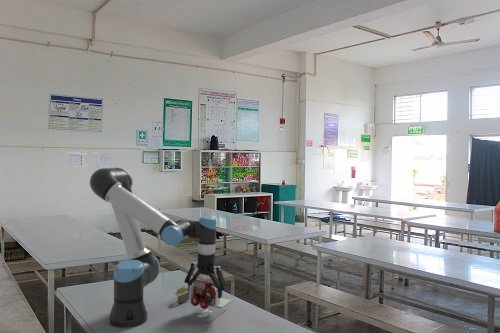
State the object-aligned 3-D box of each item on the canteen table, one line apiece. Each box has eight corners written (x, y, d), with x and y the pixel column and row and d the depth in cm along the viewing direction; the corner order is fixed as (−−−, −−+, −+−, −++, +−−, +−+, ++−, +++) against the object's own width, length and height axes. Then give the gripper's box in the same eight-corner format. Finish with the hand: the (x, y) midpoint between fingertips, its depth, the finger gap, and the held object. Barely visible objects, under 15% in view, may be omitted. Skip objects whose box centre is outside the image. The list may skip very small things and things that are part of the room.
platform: (159, 305, 186) (159, 291, 186) (185, 294, 202) (185, 281, 202) (179, 310, 180) (179, 295, 180) (204, 299, 196) (204, 285, 196)
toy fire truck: (210, 311, 169) (211, 286, 169) (187, 304, 176) (188, 280, 176) (220, 306, 175) (221, 282, 175) (198, 300, 182) (199, 276, 182)
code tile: (208, 322, 166) (208, 322, 166) (183, 317, 171) (183, 317, 171) (226, 310, 180) (226, 309, 180) (203, 305, 185) (203, 305, 185)
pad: (222, 307, 183) (222, 306, 183) (203, 304, 187) (203, 303, 187) (232, 301, 192) (232, 300, 192) (213, 297, 196) (213, 297, 196)
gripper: (235, 255, 174) (233, 304, 174) (187, 247, 184) (185, 294, 184) (227, 258, 167) (225, 310, 167) (177, 250, 177) (175, 299, 177)
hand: (204, 302), depth 176 cm, fingers closed on toy fire truck, 12 cm apart
